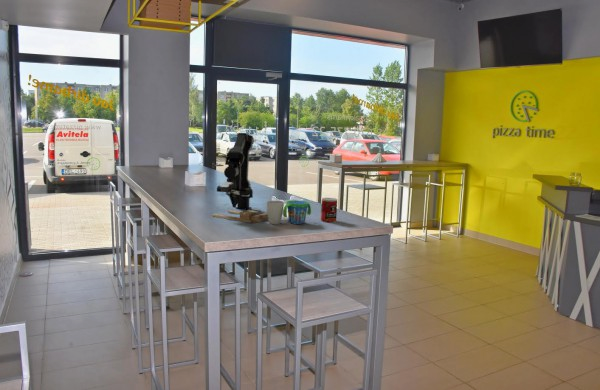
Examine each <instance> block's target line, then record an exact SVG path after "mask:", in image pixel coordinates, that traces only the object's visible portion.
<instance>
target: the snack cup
mask: <svg viewBox="0 0 600 390" xmlns="http://www.w3.org/2000/svg"><path fill="white" fill-rule="evenodd" d="M311 214H312V209H311V205H310V203H309V202H308V201H306V200H297V199H296V200H295V199H293V200H288V201H286V203H285V204H284V207H283V214H282V217H284V218H288V222H289V223H290V224H294V225H302V224H305V222H306V216H307V215H308V216H310V215H311ZM287 216H288V217H287Z"/></svg>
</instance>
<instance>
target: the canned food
mask: <svg viewBox="0 0 600 390" xmlns="http://www.w3.org/2000/svg"><path fill="white" fill-rule="evenodd" d="M320 205H321V209H320V221H321V222H324V223H336V222H337V214H338V213H337V212H338V211H337V210H338V198H336V197H321V203H320Z"/></svg>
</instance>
